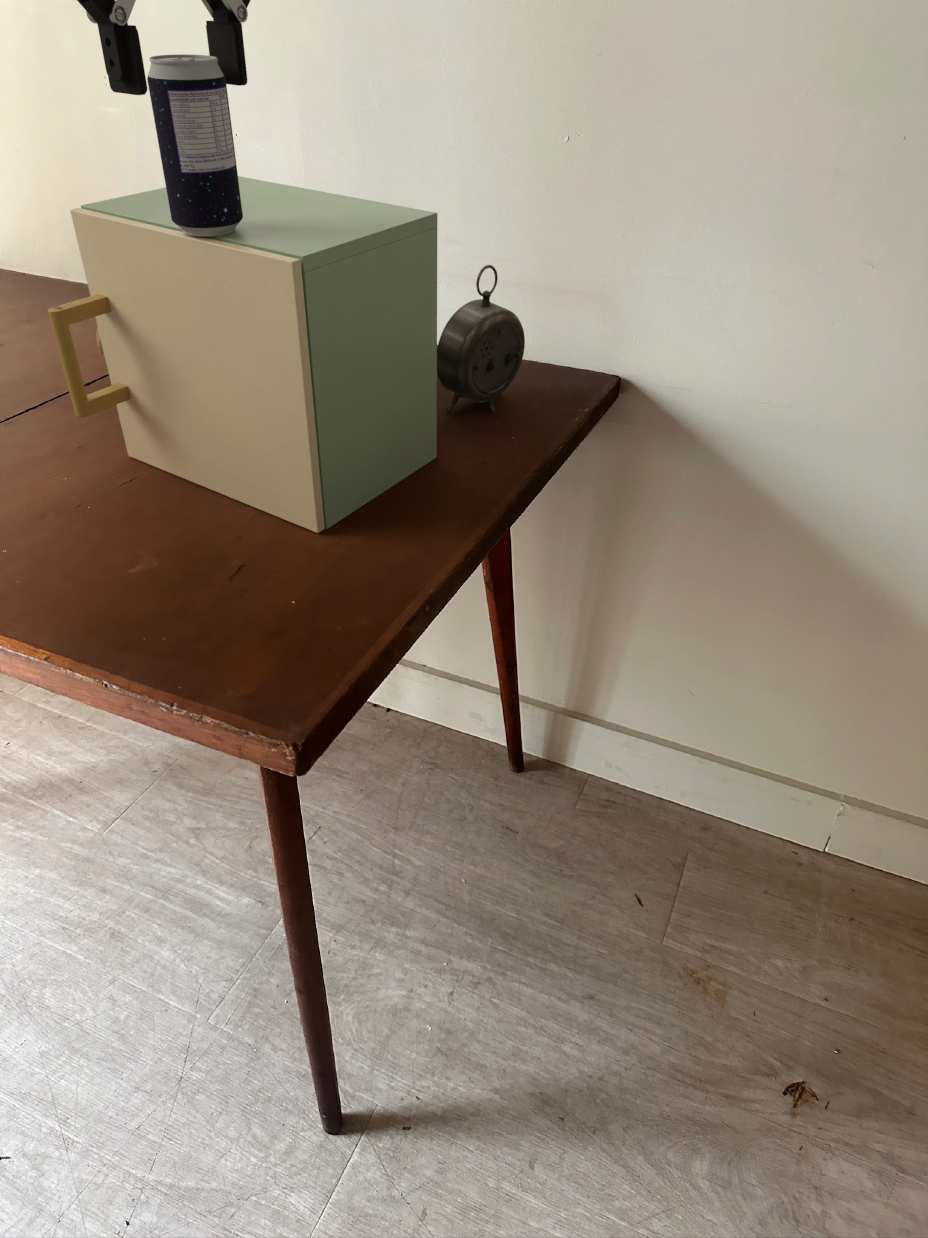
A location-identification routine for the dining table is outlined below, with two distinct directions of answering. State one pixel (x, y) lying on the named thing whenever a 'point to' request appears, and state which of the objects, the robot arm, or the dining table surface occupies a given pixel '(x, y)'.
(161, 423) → the cupboard door
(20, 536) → the dining table surface
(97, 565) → the dining table surface
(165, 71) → the beverage can
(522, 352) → the alarm clock
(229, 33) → the robot arm
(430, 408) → the cupboard
